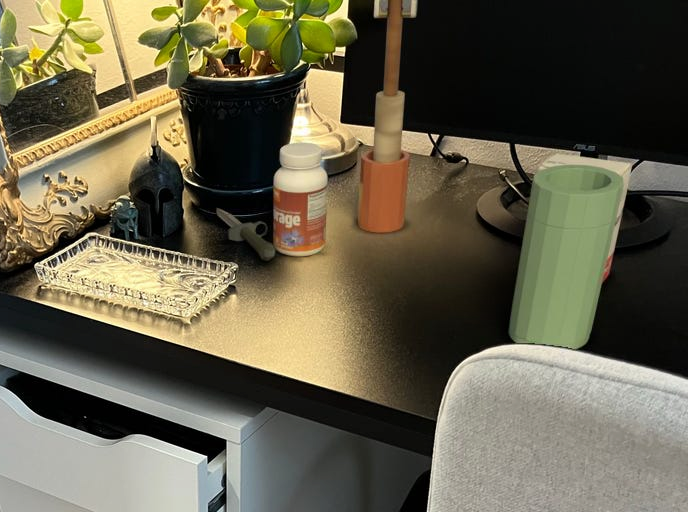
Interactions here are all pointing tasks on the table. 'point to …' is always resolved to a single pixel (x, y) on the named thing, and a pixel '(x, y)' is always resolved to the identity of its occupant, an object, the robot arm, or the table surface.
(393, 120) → the brush
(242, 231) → the knife
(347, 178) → the table surface
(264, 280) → the table surface
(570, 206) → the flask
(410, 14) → the robot arm
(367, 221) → the brush cup
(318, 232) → the pill bottle
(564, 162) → the ink box
